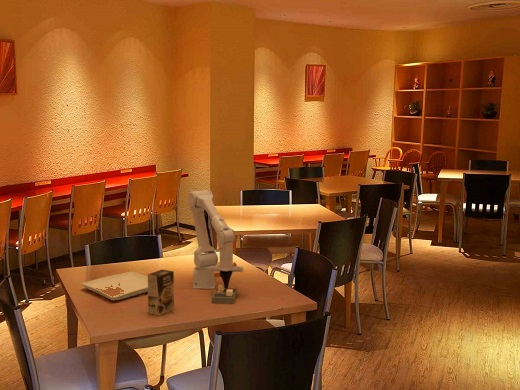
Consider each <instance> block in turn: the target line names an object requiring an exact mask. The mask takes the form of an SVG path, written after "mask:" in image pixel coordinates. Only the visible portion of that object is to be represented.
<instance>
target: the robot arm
mask: <svg viewBox="0 0 520 390" xmlns="http://www.w3.org/2000/svg"><path fill="white" fill-rule="evenodd" d="M187 201H188V207H189V210H190V211H191V213H192V218H193V223H194V224H193V225H194V229H195V235H196V241H197V246H198V247H197V249H195V251H194V252H193V256H194V257H193V263H194V265H195V267H193V271H192V272H193V273H192V282H193V283H192V288H193V289H203V290H204V289H205V290H206V289H208V290H213V289H215V287H216V285H217V282H215V277H214V271H220V276H221V277H220V278H221V280H222V284H224V287H225V288H229V284H230V280H231V278H232V274H233V273H244V267H243V266H238V265H237V266H233V263H234V252H233V251H234V245H233V244H234V242H235V241H236V232H235V230H234V229H233V228H231V227H230V226H228V224H227V222H226V221H225V220H226V219H225V218H224V217H223V215H219V212H218V210H217V208H216V206H215V203H214V194H213V192H212V190H210V189H203V190H191V191H190V192H189V194H188V196H187ZM204 211H206V212H207V214H208V216H209V218H210V219H211V220H210V224H211V226H212V227H213V229H214V231H215V233H216V241H217V246H218V248H219V256H218V254H217V252H216V249H215V247H213V246H211V244H210V238H209V235H208V229H207V223H206V218H205V213H204ZM218 262H220V266H216V265H217V263H218Z"/></svg>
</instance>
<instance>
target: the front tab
mask: <svg viewBox="0 0 520 390" xmlns="http://www.w3.org/2000/svg"><path fill="white" fill-rule="evenodd" d="M232 295H233V290H232V289H227V291H226V296H232Z"/></svg>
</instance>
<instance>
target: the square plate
mask: <svg viewBox="0 0 520 390" xmlns="http://www.w3.org/2000/svg"><path fill="white" fill-rule="evenodd" d="M119 283H120V286H119V285H118V284H119ZM111 285H112V286H113V287H110V286H111ZM81 286H83V287H84V288H85V289H87V290H89V291H92V292H94V293H97V294H99V295H100V296H103V297H105V298H107V299H109V300H111V301H115V300H116V301H119V300H124V299H127V298H132V297H135V296H139V295H143V294H147V293H148V275H144V274H141V273H138V272H135V271H128V272H123V273H119V274H113V275H108V276H103V277H99V278H96V279H92V280H89V281H88V280H87V281H83V282H82V283H81ZM105 287H110V288H113V289H116V287H119V288H121V289H122V290H124V292H120V293H124V294H119V295H120V296H119V295H116V296H113V297H112V296H110V295H108V294H106V293H104V292H102V291H101V290H98V289H102V290H106V289H108V288H105ZM96 288H98V289H96ZM120 291H121V290H120ZM146 292H147V293H146ZM142 293H143V294H142ZM138 294H139V295H138ZM131 296H132V297H131Z"/></svg>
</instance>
